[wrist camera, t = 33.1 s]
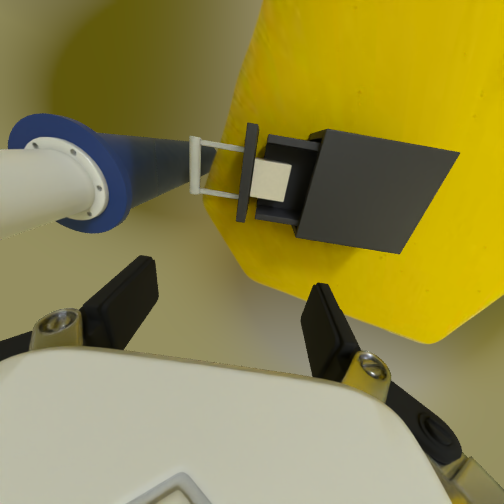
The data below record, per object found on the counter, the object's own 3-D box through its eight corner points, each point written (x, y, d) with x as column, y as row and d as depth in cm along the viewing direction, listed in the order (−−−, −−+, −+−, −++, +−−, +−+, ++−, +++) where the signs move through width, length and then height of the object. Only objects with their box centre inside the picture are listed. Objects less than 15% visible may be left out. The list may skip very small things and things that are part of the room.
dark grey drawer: (197, 201, 32) (183, 212, 26) (198, 118, 26) (181, 110, 21) (320, 221, 32) (332, 237, 27) (346, 144, 27) (368, 143, 21)
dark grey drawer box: (288, 218, 33) (295, 237, 26) (310, 133, 27) (326, 128, 20) (370, 231, 34) (399, 254, 26) (409, 151, 28) (461, 152, 20)
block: (251, 190, 29) (249, 196, 25) (256, 157, 27) (255, 159, 23) (280, 194, 29) (283, 202, 25) (287, 162, 27) (291, 165, 23)
